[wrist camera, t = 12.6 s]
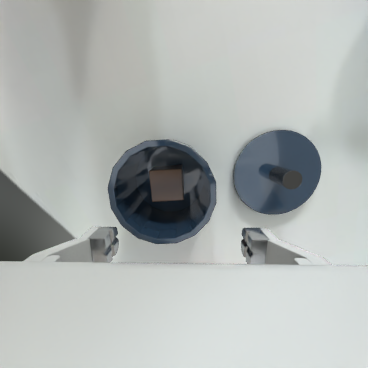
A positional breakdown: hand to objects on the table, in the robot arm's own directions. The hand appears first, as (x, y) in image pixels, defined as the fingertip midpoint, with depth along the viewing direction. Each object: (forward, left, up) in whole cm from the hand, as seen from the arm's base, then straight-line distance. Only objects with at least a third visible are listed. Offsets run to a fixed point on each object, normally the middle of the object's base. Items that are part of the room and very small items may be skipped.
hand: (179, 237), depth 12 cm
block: (0, -2, -18) cm, 18 cm away
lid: (0, +15, -18) cm, 23 cm away
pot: (0, -2, -19) cm, 19 cm away
